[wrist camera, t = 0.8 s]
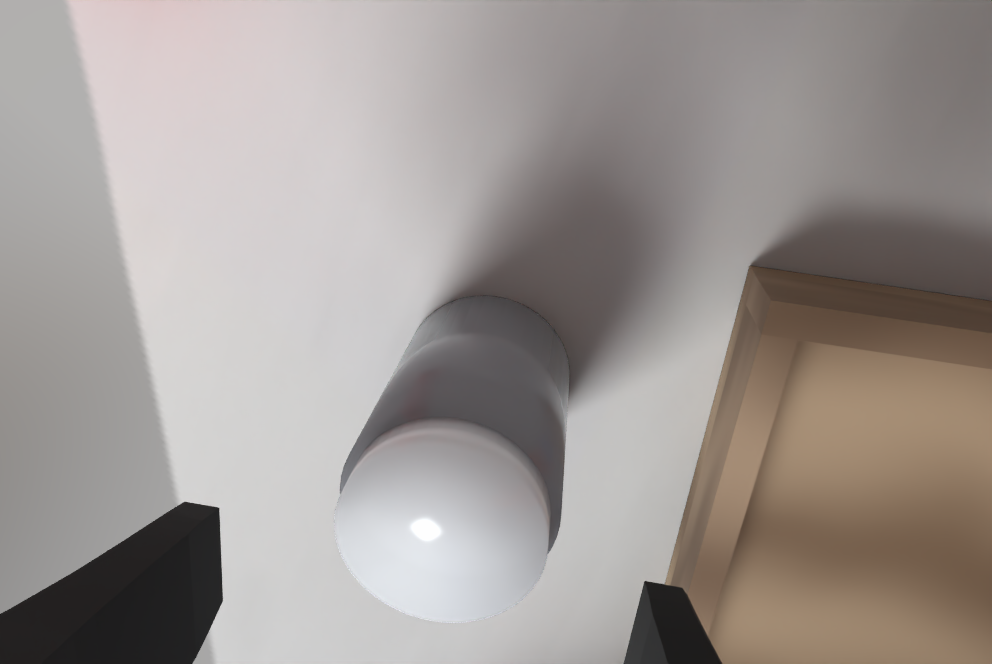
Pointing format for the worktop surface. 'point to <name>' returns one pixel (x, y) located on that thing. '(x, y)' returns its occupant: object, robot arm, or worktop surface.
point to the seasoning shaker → (460, 465)
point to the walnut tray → (845, 479)
